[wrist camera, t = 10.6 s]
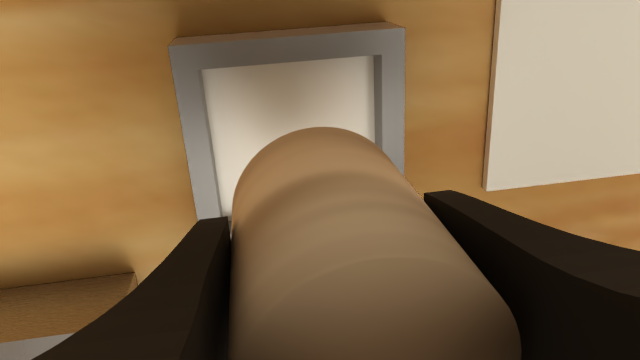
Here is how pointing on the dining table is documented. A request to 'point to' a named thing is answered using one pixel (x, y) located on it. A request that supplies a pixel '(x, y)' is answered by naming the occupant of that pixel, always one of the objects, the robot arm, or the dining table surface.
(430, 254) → the billet
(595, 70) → the plate
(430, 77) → the dining table surface
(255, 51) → the shallow grey tray
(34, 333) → the button housing
